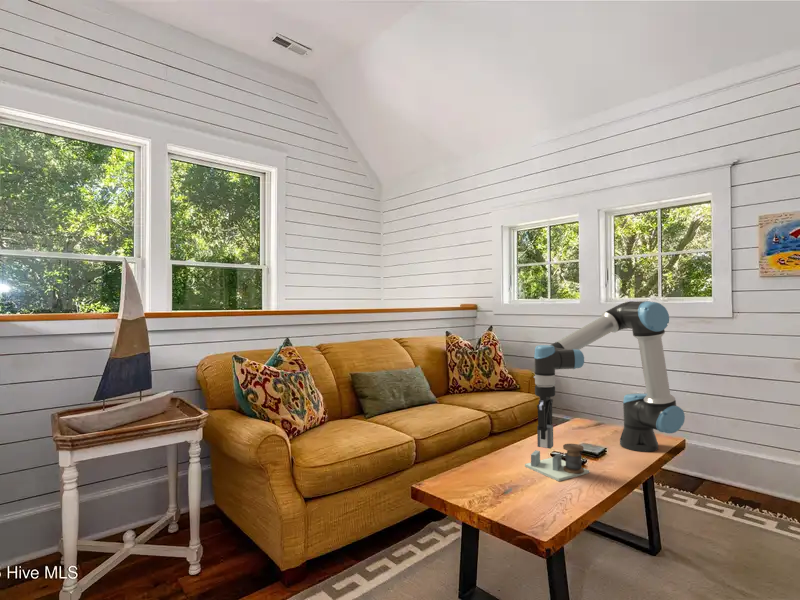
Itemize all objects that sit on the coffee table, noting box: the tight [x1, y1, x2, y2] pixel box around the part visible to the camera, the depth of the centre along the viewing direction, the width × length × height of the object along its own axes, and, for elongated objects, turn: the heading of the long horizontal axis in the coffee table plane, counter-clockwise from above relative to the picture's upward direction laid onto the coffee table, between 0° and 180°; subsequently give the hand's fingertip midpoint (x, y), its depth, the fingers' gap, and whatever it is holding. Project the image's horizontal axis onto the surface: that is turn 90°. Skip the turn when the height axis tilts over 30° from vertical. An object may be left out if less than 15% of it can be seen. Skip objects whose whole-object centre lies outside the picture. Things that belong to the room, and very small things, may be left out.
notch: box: [530, 450, 562, 471], centre depth 185 cm, size 6×10×4 cm, turn 58°
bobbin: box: [562, 443, 584, 474], centre depth 180 cm, size 7×7×9 cm
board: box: [524, 456, 590, 482], centre depth 184 cm, size 16×18×1 cm
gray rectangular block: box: [536, 424, 554, 450], centre depth 185 cm, size 4×5×8 cm
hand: (545, 445), depth 185 cm, fingers closed on gray rectangular block, 4 cm apart
